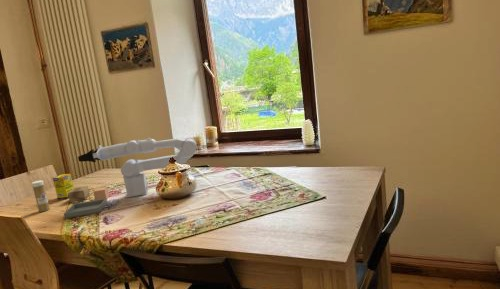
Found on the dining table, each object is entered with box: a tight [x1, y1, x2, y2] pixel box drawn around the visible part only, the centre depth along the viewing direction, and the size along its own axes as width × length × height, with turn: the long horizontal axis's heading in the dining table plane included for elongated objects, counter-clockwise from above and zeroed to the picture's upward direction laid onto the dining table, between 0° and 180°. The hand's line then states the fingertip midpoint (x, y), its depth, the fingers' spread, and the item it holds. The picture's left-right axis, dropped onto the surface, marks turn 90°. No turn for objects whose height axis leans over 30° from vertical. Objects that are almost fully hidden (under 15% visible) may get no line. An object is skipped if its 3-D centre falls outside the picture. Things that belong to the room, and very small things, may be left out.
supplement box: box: [52, 173, 75, 200], centre depth 188 cm, size 6×6×11 cm
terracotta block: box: [92, 186, 110, 201], centre depth 176 cm, size 5×5×5 cm
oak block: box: [68, 185, 91, 203], centre depth 182 cm, size 7×7×5 cm
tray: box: [63, 199, 108, 220], centre depth 162 cm, size 14×12×2 cm
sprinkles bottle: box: [31, 180, 51, 213], centre depth 171 cm, size 5×5×14 cm
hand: (81, 158), depth 171 cm, fingers open, 7 cm apart
